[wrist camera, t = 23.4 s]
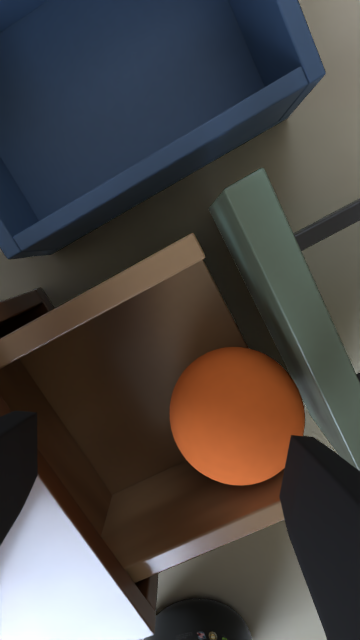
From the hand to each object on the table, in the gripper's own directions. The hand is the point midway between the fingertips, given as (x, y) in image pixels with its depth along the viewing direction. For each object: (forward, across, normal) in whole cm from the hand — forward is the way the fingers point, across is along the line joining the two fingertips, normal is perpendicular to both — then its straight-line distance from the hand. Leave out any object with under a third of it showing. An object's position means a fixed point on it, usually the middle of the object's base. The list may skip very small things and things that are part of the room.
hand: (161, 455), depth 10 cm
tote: (+8, +4, -12) cm, 14 cm away
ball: (+3, -3, 0) cm, 4 cm away
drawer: (+7, -2, -1) cm, 7 cm away
